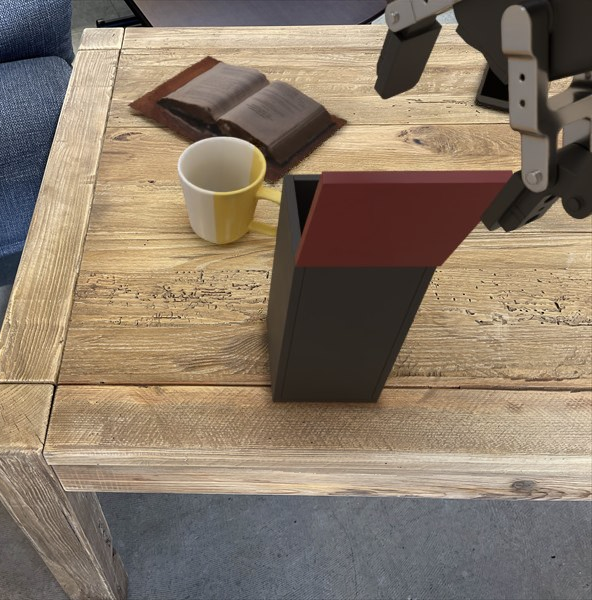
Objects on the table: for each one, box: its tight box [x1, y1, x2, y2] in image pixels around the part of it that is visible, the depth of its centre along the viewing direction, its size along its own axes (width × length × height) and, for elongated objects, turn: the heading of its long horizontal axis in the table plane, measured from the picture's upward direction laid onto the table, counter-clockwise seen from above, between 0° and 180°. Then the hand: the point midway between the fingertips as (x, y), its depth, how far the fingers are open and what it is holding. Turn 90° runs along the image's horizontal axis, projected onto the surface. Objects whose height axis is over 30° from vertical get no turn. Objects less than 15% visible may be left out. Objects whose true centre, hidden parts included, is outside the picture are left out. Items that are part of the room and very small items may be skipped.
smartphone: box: [474, 62, 509, 113], centre depth 95 cm, size 7×15×1 cm, turn 154°
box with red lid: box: [265, 173, 438, 404], centre depth 56 cm, size 11×11×21 cm
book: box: [127, 55, 348, 184], centre depth 91 cm, size 20×28×4 cm
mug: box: [176, 137, 282, 245], centre depth 72 cm, size 14×10×10 cm
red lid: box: [295, 169, 514, 268], centre depth 39 cm, size 12×11×1 cm
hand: (444, 150), depth 29 cm, fingers open, 8 cm apart
